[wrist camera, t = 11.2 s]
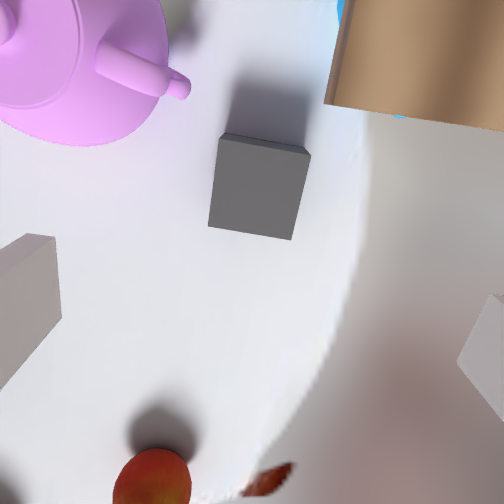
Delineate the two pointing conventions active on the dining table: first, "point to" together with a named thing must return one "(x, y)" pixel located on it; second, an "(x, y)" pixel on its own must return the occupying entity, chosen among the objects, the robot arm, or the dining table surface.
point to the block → (422, 60)
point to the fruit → (153, 479)
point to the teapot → (83, 68)
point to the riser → (257, 186)
